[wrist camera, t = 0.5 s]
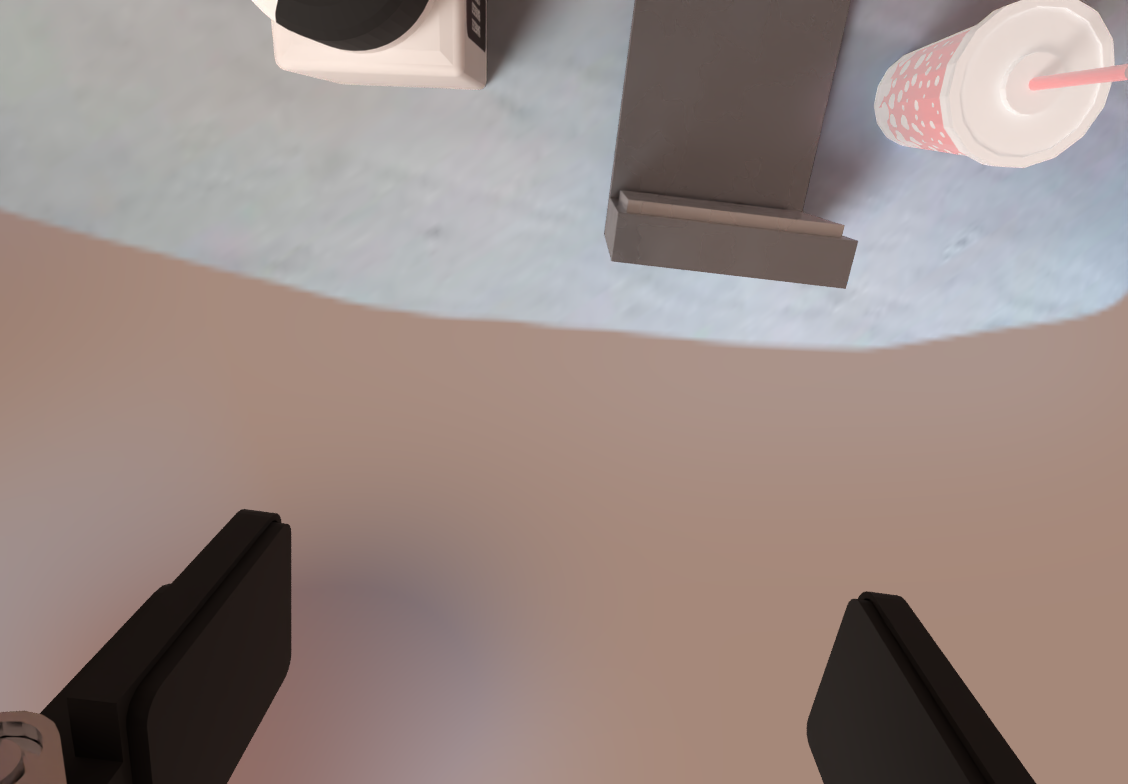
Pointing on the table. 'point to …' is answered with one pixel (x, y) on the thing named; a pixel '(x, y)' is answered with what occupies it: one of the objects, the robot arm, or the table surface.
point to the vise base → (726, 140)
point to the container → (382, 41)
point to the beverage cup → (1004, 85)
